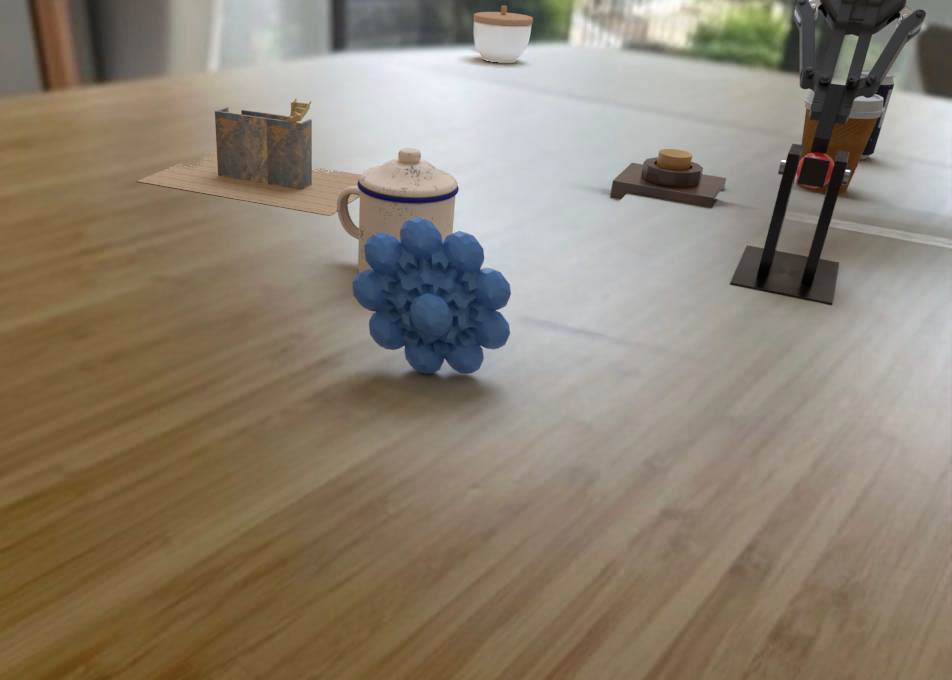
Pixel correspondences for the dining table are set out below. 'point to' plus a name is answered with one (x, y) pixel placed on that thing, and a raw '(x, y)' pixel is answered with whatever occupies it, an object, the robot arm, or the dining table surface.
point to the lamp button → (674, 159)
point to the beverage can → (884, 92)
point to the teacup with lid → (399, 199)
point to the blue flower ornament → (433, 297)
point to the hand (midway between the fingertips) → (820, 146)
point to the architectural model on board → (263, 163)
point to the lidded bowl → (501, 35)
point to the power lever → (815, 170)
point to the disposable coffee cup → (845, 133)
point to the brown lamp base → (668, 183)
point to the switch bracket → (792, 270)
